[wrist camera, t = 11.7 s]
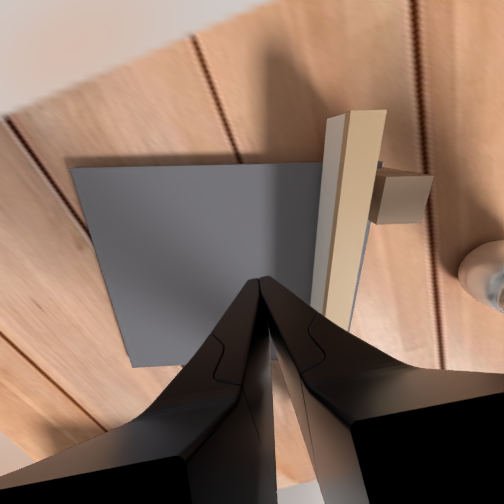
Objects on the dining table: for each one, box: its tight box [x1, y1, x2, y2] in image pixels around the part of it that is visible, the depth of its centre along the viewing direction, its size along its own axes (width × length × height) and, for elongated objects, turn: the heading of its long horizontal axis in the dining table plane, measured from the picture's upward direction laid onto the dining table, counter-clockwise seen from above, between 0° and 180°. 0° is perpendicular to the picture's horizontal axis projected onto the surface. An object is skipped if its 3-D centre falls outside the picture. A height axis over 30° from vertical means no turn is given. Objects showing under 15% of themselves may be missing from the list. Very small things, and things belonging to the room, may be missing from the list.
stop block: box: [368, 167, 434, 225], centre depth 18 cm, size 3×3×6 cm
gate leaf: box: [310, 110, 387, 331], centre depth 18 cm, size 17×2×4 cm, turn 2°
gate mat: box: [70, 161, 382, 368], centre depth 23 cm, size 21×24×1 cm
